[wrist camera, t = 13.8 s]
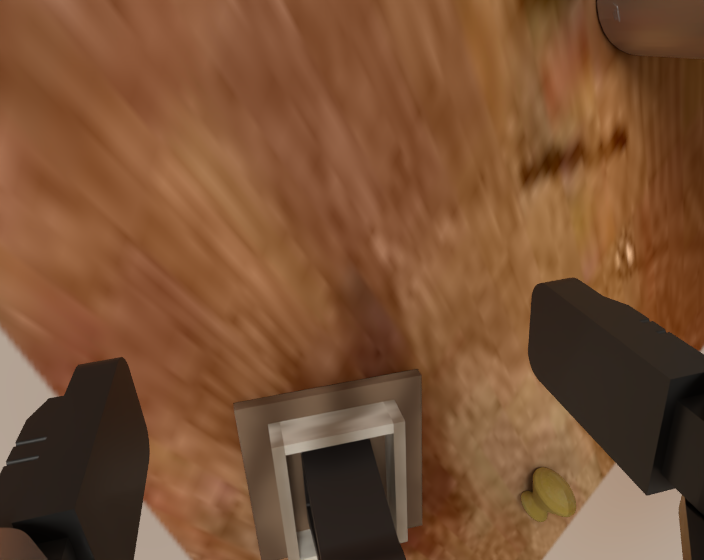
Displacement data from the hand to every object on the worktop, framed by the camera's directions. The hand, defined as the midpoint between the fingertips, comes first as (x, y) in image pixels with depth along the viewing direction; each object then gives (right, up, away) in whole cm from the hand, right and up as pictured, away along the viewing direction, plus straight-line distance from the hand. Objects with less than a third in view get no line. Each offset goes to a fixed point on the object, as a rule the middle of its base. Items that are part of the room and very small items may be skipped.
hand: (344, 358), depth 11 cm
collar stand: (-1, -16, +40) cm, 43 cm away
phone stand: (-1, -16, +39) cm, 42 cm away
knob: (+19, -20, +47) cm, 55 cm away
